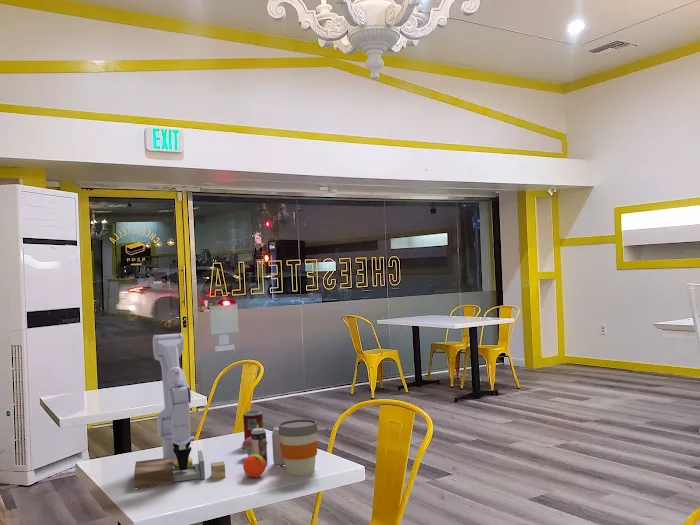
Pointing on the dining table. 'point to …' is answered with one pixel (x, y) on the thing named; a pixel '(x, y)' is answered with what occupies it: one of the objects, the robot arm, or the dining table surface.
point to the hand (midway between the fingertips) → (183, 467)
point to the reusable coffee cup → (299, 445)
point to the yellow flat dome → (188, 463)
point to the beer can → (259, 442)
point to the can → (277, 448)
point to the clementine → (254, 465)
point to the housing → (153, 472)
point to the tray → (191, 470)
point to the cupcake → (248, 445)
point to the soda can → (252, 422)
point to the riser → (218, 470)
